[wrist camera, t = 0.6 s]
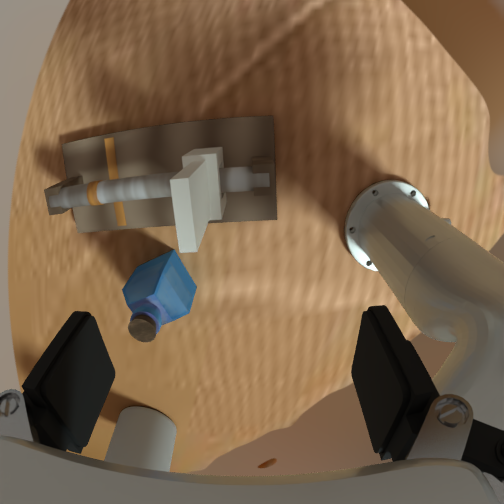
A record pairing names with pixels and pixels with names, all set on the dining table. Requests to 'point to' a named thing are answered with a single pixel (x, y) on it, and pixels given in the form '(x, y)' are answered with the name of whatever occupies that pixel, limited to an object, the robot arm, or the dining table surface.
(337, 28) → the dining table surface
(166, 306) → the perfume bottle
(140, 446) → the cylinder vase
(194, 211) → the white l-shaped bracket
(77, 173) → the pipe stand
